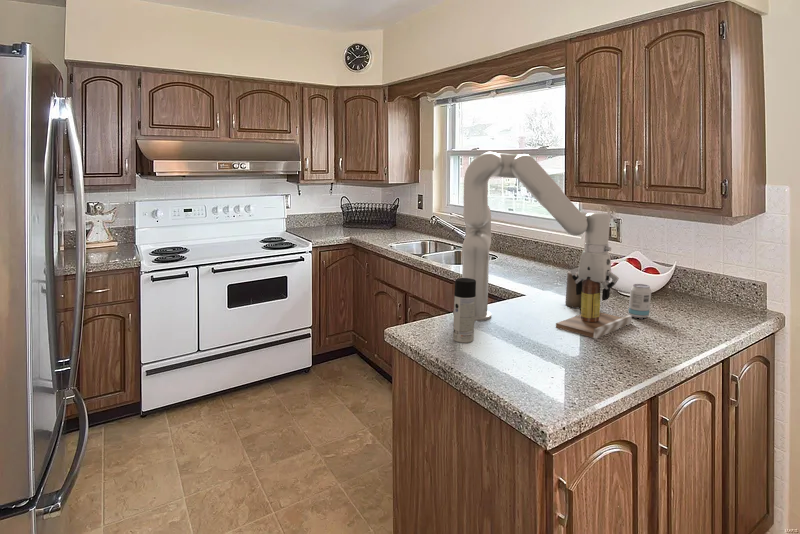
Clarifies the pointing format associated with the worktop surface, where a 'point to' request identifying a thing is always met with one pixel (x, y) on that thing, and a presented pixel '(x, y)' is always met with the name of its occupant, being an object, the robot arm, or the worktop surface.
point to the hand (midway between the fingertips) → (592, 296)
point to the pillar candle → (572, 292)
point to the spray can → (464, 310)
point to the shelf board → (594, 325)
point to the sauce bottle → (590, 300)
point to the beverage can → (639, 301)
